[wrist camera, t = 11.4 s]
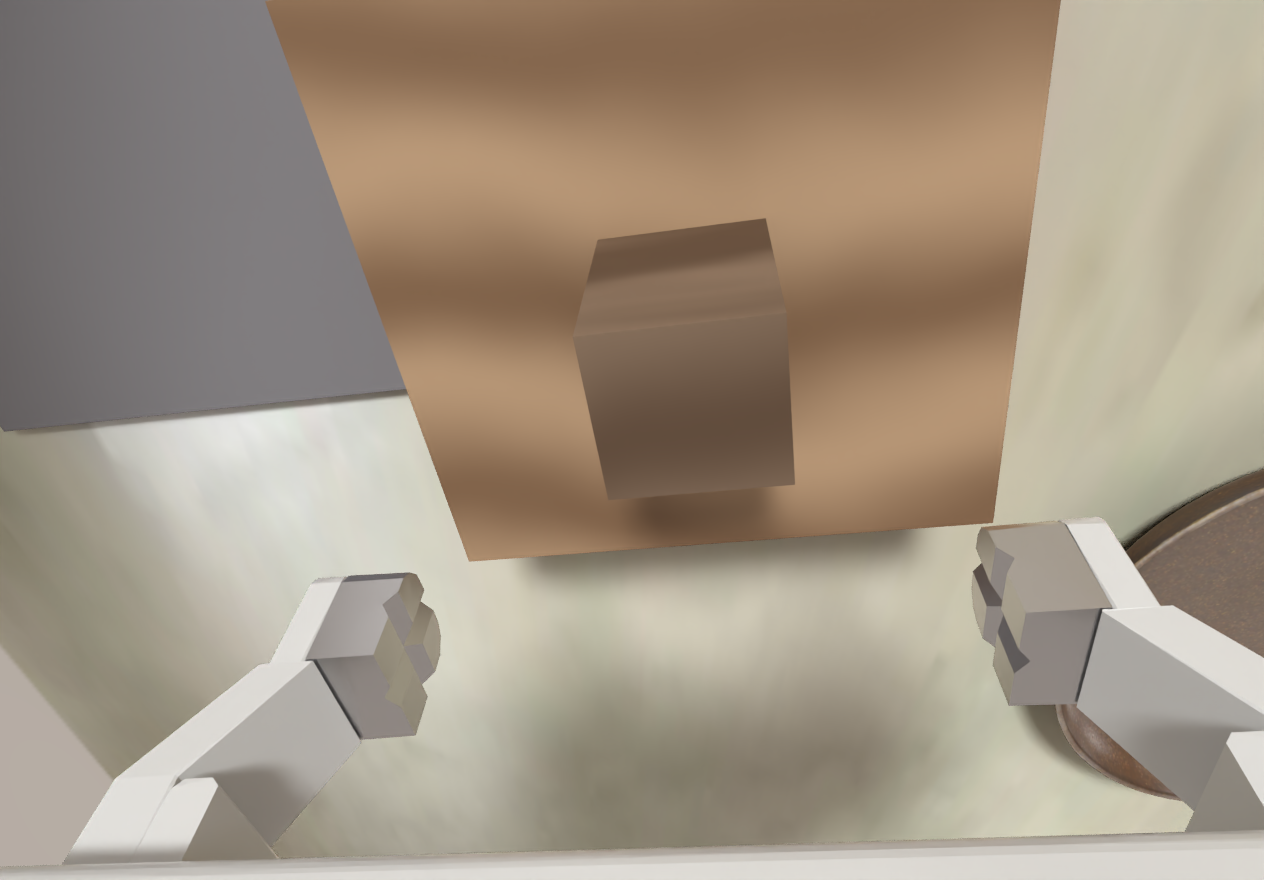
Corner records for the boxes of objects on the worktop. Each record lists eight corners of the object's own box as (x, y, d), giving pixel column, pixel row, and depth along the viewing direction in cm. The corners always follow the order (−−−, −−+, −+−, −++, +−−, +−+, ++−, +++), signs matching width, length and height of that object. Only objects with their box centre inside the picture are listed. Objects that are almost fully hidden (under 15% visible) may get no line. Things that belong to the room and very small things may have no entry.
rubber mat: (-367, -113, 22) (-387, -112, 22) (229, -248, 20) (219, -251, 19) (12, 424, 32) (4, 431, 32) (439, 378, 30) (435, 385, 29)
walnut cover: (280, -4, 17) (127, 41, 13) (1062, -144, 15) (1231, -156, 10) (474, 544, 26) (427, 690, 22) (984, 505, 24) (1056, 658, 19)
